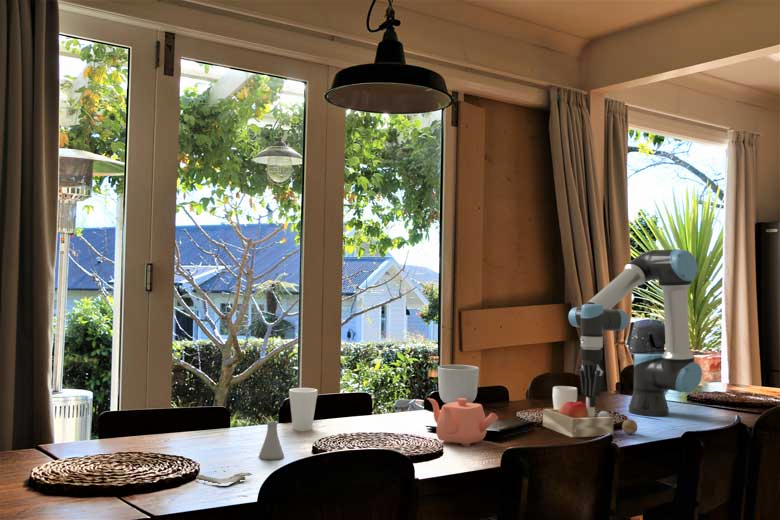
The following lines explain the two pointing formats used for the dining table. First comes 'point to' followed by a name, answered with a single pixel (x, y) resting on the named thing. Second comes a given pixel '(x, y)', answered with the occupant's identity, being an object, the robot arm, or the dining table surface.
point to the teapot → (461, 422)
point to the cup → (563, 395)
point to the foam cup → (302, 407)
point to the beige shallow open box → (577, 424)
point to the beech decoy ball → (629, 426)
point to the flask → (271, 443)
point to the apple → (574, 409)
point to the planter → (457, 382)
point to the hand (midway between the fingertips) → (590, 415)
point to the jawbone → (225, 480)
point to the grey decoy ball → (603, 414)
